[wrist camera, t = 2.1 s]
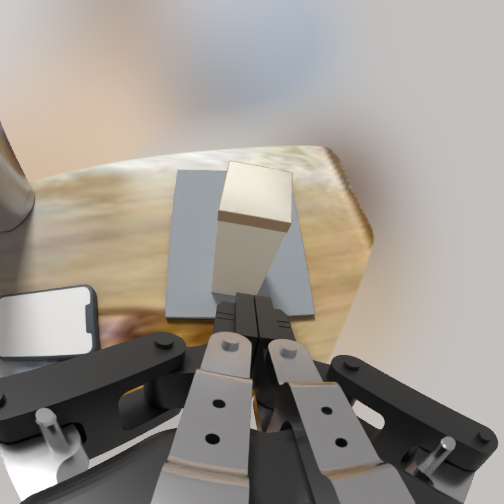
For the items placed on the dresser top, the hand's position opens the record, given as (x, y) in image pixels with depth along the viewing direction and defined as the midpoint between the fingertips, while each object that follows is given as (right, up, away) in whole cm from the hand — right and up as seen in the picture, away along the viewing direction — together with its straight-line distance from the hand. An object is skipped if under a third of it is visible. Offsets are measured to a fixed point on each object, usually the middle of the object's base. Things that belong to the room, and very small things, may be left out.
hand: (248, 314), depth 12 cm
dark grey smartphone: (-25, -6, +15) cm, 30 cm away
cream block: (-2, 0, +21) cm, 21 cm away
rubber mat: (-2, +5, +25) cm, 25 cm away
